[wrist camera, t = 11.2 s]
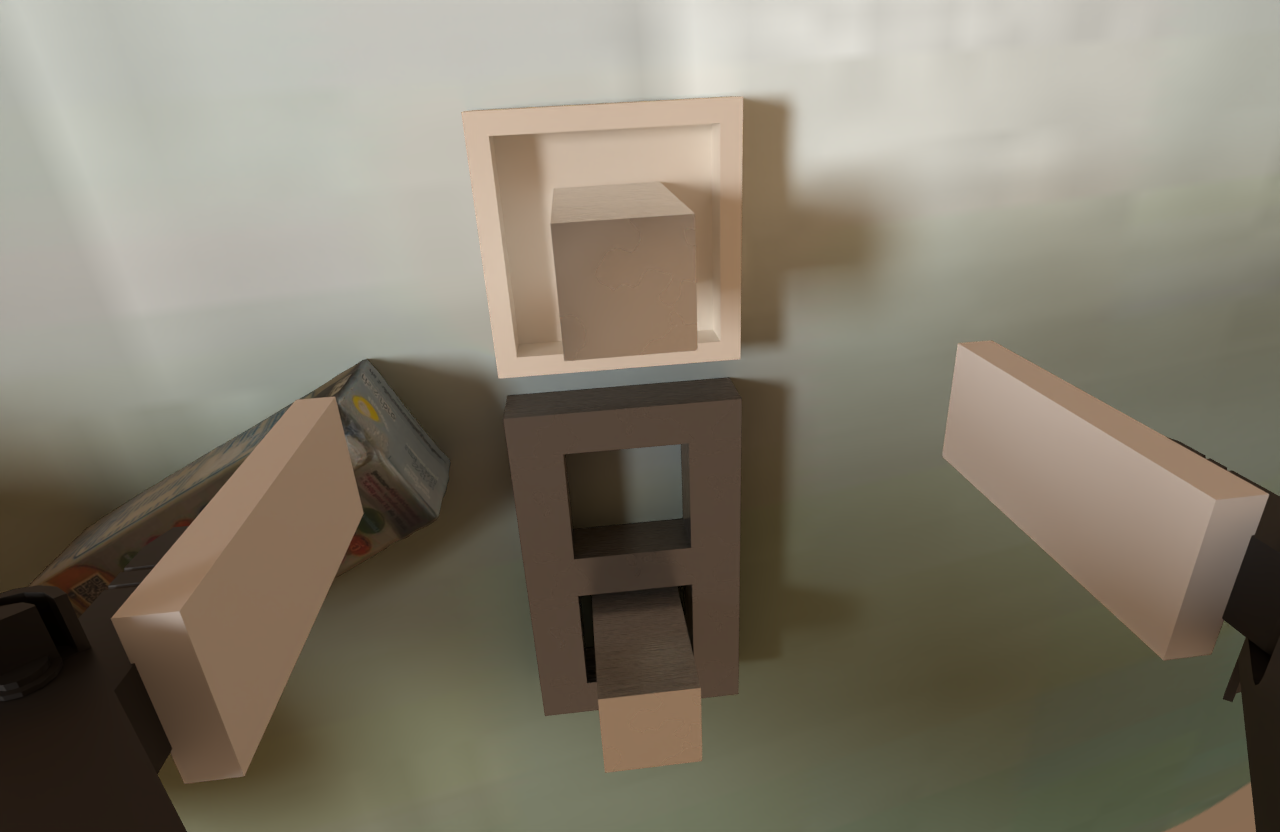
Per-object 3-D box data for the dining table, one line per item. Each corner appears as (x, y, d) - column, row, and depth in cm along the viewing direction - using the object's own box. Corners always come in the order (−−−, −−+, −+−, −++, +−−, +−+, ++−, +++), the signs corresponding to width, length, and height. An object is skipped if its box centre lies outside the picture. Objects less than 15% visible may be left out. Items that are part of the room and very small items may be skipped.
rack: (546, 679, 46) (544, 715, 44) (507, 395, 38) (503, 419, 35) (728, 659, 47) (738, 694, 45) (729, 377, 39) (741, 398, 36)
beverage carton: (462, 466, 40) (444, 532, 34) (191, 620, 42) (130, 707, 36) (370, 350, 37) (332, 401, 31) (83, 525, 39) (-4, 603, 33)
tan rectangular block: (563, 293, 36) (564, 361, 26) (553, 188, 34) (550, 223, 24) (663, 285, 36) (697, 350, 27) (659, 181, 34) (695, 213, 25)
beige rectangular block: (596, 637, 45) (605, 772, 36) (590, 572, 43) (597, 699, 34) (674, 628, 46) (702, 760, 37) (672, 564, 44) (700, 687, 35)
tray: (502, 360, 37) (498, 378, 35) (468, 110, 32) (461, 111, 30) (729, 342, 38) (740, 359, 36) (730, 96, 33) (743, 96, 31)
